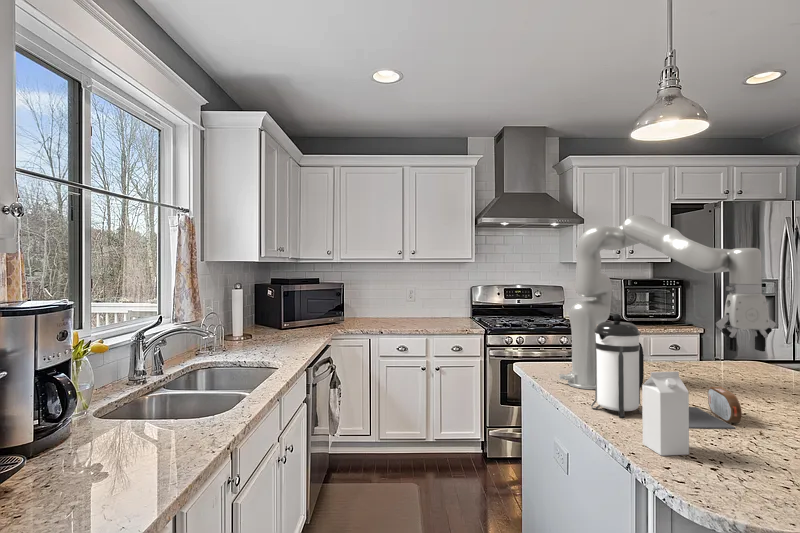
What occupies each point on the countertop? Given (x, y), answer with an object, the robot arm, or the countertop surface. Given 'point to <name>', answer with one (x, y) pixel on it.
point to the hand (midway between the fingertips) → (745, 350)
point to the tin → (724, 404)
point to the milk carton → (665, 414)
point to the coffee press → (618, 366)
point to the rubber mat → (705, 420)
